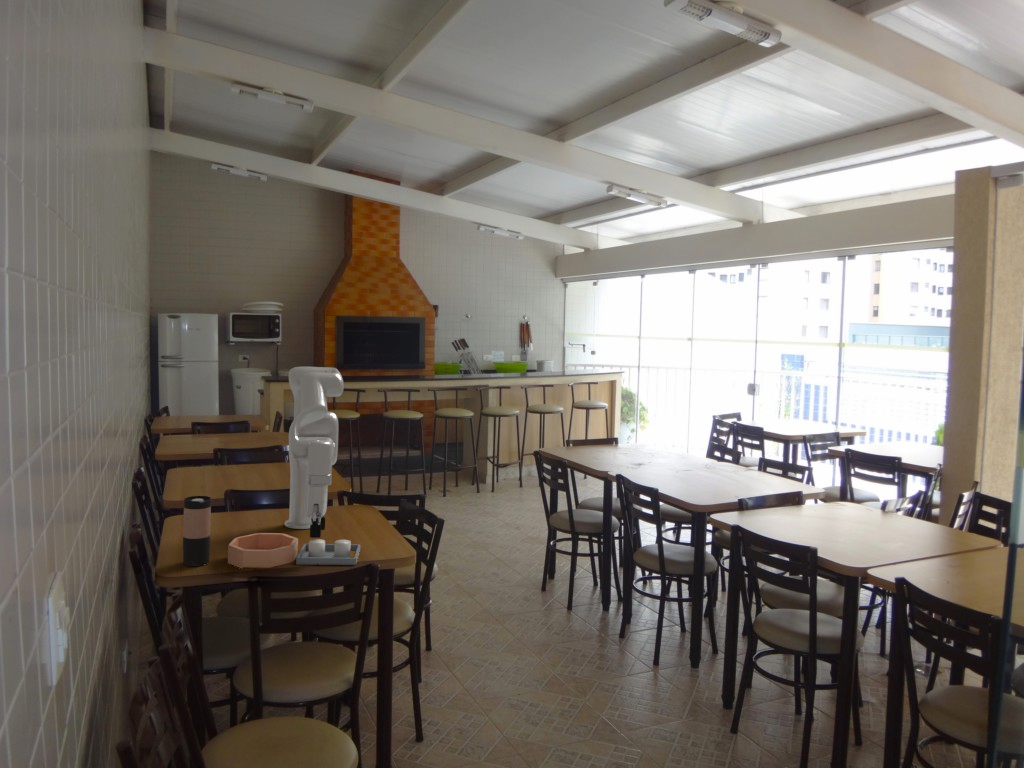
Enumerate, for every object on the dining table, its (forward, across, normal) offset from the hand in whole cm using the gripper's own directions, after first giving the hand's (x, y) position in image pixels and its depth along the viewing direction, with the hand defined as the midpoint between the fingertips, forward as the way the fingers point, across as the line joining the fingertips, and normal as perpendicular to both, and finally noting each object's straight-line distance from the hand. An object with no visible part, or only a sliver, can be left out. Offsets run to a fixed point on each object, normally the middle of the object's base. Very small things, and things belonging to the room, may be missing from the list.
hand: (317, 533), depth 227 cm
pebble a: (+8, -1, 0) cm, 8 cm away
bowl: (+8, 0, -16) cm, 18 cm away
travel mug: (+9, +4, -35) cm, 36 cm away
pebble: (+8, -1, +8) cm, 11 cm away
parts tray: (+8, -1, +4) cm, 9 cm away
